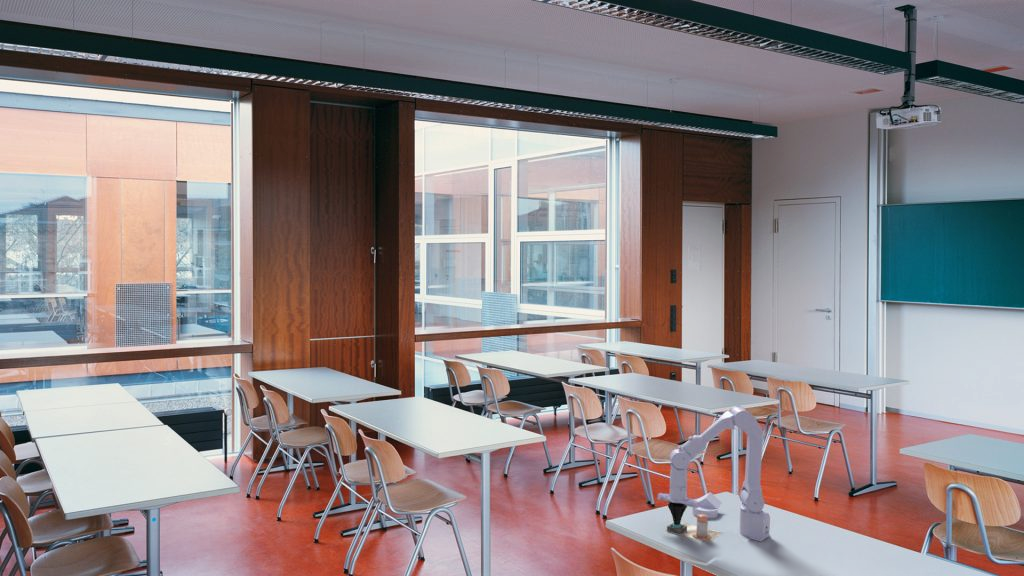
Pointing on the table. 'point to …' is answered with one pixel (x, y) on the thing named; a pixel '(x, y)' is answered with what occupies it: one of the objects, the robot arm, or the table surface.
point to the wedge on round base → (707, 506)
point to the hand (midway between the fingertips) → (677, 524)
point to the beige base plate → (692, 532)
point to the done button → (677, 526)
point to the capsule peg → (702, 526)
